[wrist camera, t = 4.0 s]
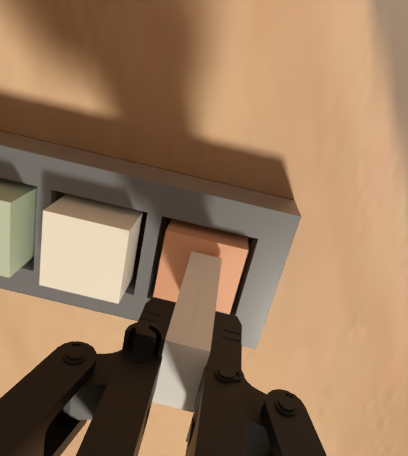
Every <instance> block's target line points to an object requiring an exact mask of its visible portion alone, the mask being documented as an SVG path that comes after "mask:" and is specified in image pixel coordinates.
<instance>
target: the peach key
mask: <svg viewBox="0 0 408 456" xmlns="http://www.w3.org/2000/svg"><path fill="white" fill-rule="evenodd" d="M191 251H193V252H198V253H202V254H206V255H210V256H214V257H218V258H222V262H221V270H220V278H219V286H218V294H217V302H216V310H215V311H218V312H222V313H226V314H230V311H231V308H232V305H233V301H234V298H235V294H236V291H237V288H238V284H239V281H240V277H241V274H242V271H243V267H244V264H245V260H246V257H247V254H248V236H244V235H240V234H235V233H231V232H227V231H223V230H218V229H214V228H210V227H206V226H202V225H197V224H193V223H189V222H185V221H181V220H176V219H171V221H170V223H169V225H168V227H167V229H166V232H165V238H164V243H163V248H162V253H161V258H160V264H159V269H158V274H157V279H156V284H155V290H154V295H153V297H156V298H160V299H164V300H168V301H173V302H177V298H178V295H179V292H180V288H181V285H182V281H183V278H184V275H185V271H186V268H187V265H188V261H189V258H190V255H191Z"/></svg>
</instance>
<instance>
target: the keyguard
mask: <svg viewBox="0 0 408 456" xmlns="http://www.w3.org/2000/svg"><path fill="white" fill-rule="evenodd" d="M0 178H4V179H8V180H12V181H16V182H21V183H25V184H29V185H33V186H37V203H36V226H35V249H34V257H32V258H31V259H30V260H29V261H28V262H27V263H26V264H25V265H23V266H22V267H21V268H20V269H19V270H18V271H17V272H16V273H14V274H13V275H12V276H11V277H10V278H8V277H4V276H0V288H2V289H6V290H10V291H14V292H18V293H22V294H27V295H31V296H35V297H39V298H43V299H48V300H52V301H56V302H60V303H64V304H69V305H73V306H77V307H81V308H85V309H89V310H94V311H98V312H102V313H106V314H110V315H115V316H119V317H123V318H127V319H131V320H136V321H138V320H139V318H140V315H141V313H142V311H143V308H144V306H145V304H146V302H148V301H149V300H150V299H152V298H153V295H154V290H155V284H156V279H157V276H156V273H157V268H158V263H159V258H160V253H161V247H162V242H163V237H164V232H165V226H166V221H167V217H168V218H172V219H176V220H181V221H185V222H189V223H193V224H197V225H202V226H206V227H210V228H214V229H218V230H223V231H227V232H231V233H235V234H240V235H244V236H248V237H252V239H251V243H250V246H249V249H248V254H247V257H246V260H245V264H244V267H243V271H242V274H241V277H240V281H239V284H238V288H237V291H236V294H235V298H234V301H233V305H232V308H231V311H230V315H234V316H237V317H238V319H239V321H240V323H241V324H242V335H241V336H242V341H241V343H242V346H244V347H249V348H253V349H256V347H257V344H258V341H259V338H260V335H261V332H262V329H263V327H264V324H265V321H266V318H267V315H268V312H269V309H270V306H271V303H272V300H273V297H274V294H275V291H276V288H277V285H278V283H279V280H280V277H281V274H282V271H283V268H284V265H285V262H286V259H287V256H288V253H289V250H290V247H291V244H292V242H293V239H294V236H295V233H296V230H297V227H298V224H299V221H300V218H301V215H300V213H299V210H298V208H297V205H296V203H295V200H290V199H286V198H282V197H278V196H274V195H269V194H265V193H261V192H257V191H252V190H248V189H244V188H240V187H236V186H231V185H227V184H223V183H219V182H214V181H210V180H206V179H202V178H198V177H193V176H189V175H185V174H181V173H176V172H172V171H168V170H164V169H160V168H155V167H151V166H147V165H143V164H138V163H134V162H130V161H126V160H122V159H117V158H113V157H109V156H105V155H100V154H96V153H92V152H88V151H84V150H79V149H75V148H71V147H67V146H62V145H58V144H54V143H50V142H46V141H41V140H37V139H33V138H29V137H24V136H20V135H16V134H12V133H8V132H3V131H0ZM66 194H69V195H70V194H71V195H75V196H80V197H84V198H88V199H92V200H96V201H101V202H105V203H109V204H113V205H117V206H122V207H126V208H130V209H134V210H138V211H143V212H147V213H148V214H147V220H146V226H145V232H144V238H143V244H142V249H141V255H140V261H139V267H138V271H134V270H133V276H132V280H131V281H130V283H129V285H128V287H127V289H126V291H125V293H124V294H123V296H122V298H121V300H120V302H119V304H117V303H113V302H108V301H104V300H100V299H96V298H92V297H87V296H83V295H79V294H75V293H71V292H66V291H62V290H58V289H54V288H50V287H46V286H41V285H39V278H40V259H41V239H42V220H43V210H44V209H46V208H47V207H49V206H50V205H51V204H53V203H54V202H56V201H57V200H59V199H60V198H61V197H63V196H64V195H66Z"/></svg>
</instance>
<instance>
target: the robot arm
mask: <svg viewBox="0 0 408 456" xmlns="http://www.w3.org/2000/svg"><path fill="white" fill-rule="evenodd" d="M221 262H222V258H218V257H214V256H210V255H206V254H202V253H198V252H193V251H191V255H190V258H189V261H188V265H187V268H186V271H185V275H184V278H183V281H182V285H181V288H180V292H179V295H178V298H177V302H173V301H168V300H164V299H160V298H156V297H153V298H152V299H150V300H149V301H148V302H146V304H145V306H144V308H143V311H142V313H141V315H140V318H139V320H138V322H137V323H134V324H132V325H130V326H129V327H128V328H127V329H126V330H125V336H124V343H123V349H122V350H120V351H118V352H115V353H109V354H96V351H95V350H94V348H93V347H92V346H90V345H89V344H87V343H83V342H69V343H65V344H63V345H61V346H60V347H58V348H57V349H56V350H54V351H53V352H52V353H51V354H50V355H49V356H48V357H46V358H45V359H44V360H43V361H42V362H41V363H40V364H39V365H37V366H36V367H35V368H34V369H33V370H32V371H31V372H30V373H28V374H27V375H26V376H25V377H24V378H23V379H22V380H21V381H19V382H18V383H17V384H16V385H15V386H14V387H13V388H12V389H10V390H9V391H8V392H7V393H6V394H5V395H4V396H3V397H1V398H0V456H60V455H61V454H62V453H63V451H64V450H65V449H66V448H67V446H68V445H69V444H70V442H71V441H72V440H73V439H74V437H75V436H76V435H77V433H78V432H79V431H80V430H81V428H82V427H83V426H84V425H85V423H86V421H87V420H89V419H92V420H91V423H90V425H89V427H88V430H87V432H86V434H85V436H84V439H83V441H82V443H81V446H80V448H79V450H78V452H77V455H76V456H138V452H139V449H140V445H141V442H142V438H143V434H144V431H145V427H146V424H147V420H148V416H149V412H150V407H151V403H152V402H153V403H157V404H161V405H166V406H170V407H174V408H178V409H182V410H186V411H190V412H193V411H194V414H193V418H192V421H191V425H190V428H189V432H188V435H187V439H186V441H187V442H188V443H187V449H186V456H326V453H325V451H324V449H323V446H322V444H321V442H320V440H319V437H318V435H317V433H316V430H315V428H314V426H313V424H312V421H311V419H310V417H309V414H308V412H307V410H306V408H305V406H304V404H303V403H302V401H301V400H300V399H299V398H298V397H297V396H295V395H294V394H292V393H290V392H288V391H285V390H281V389H277V390H272V391H271V392H269V393H268V394H265V393H263V392H261V391H259V390H257V389H256V388H254V387H252V386H251V385H250V384H249V383H248V382H247V381H246V379H245V378H244V374H243V372H242V370H241V350H242V343H241V341H242V336H241V335H242V324H241V323H240V321H239V319H238V317H237V316H234V315H230V314H226V313H222V312H218V311H215V310H216V302H217V294H218V286H219V278H220V270H221Z"/></svg>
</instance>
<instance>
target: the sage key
mask: <svg viewBox="0 0 408 456" xmlns="http://www.w3.org/2000/svg"><path fill="white" fill-rule="evenodd" d="M36 203H37V187H35V186H31V185H27V184H23V183H19V182H14V181H10V180H6V179H2V178H0V276H4V277H8V278H10V277H11V276H12V275H13V274H14V273H16V272H17V271H18V270H19V269H20V268H21V267H22V266H23V265H25V264H26V263H27V262H28V261H29V260H30V259H31V258H32V257H34V249H35V226H36Z"/></svg>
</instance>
